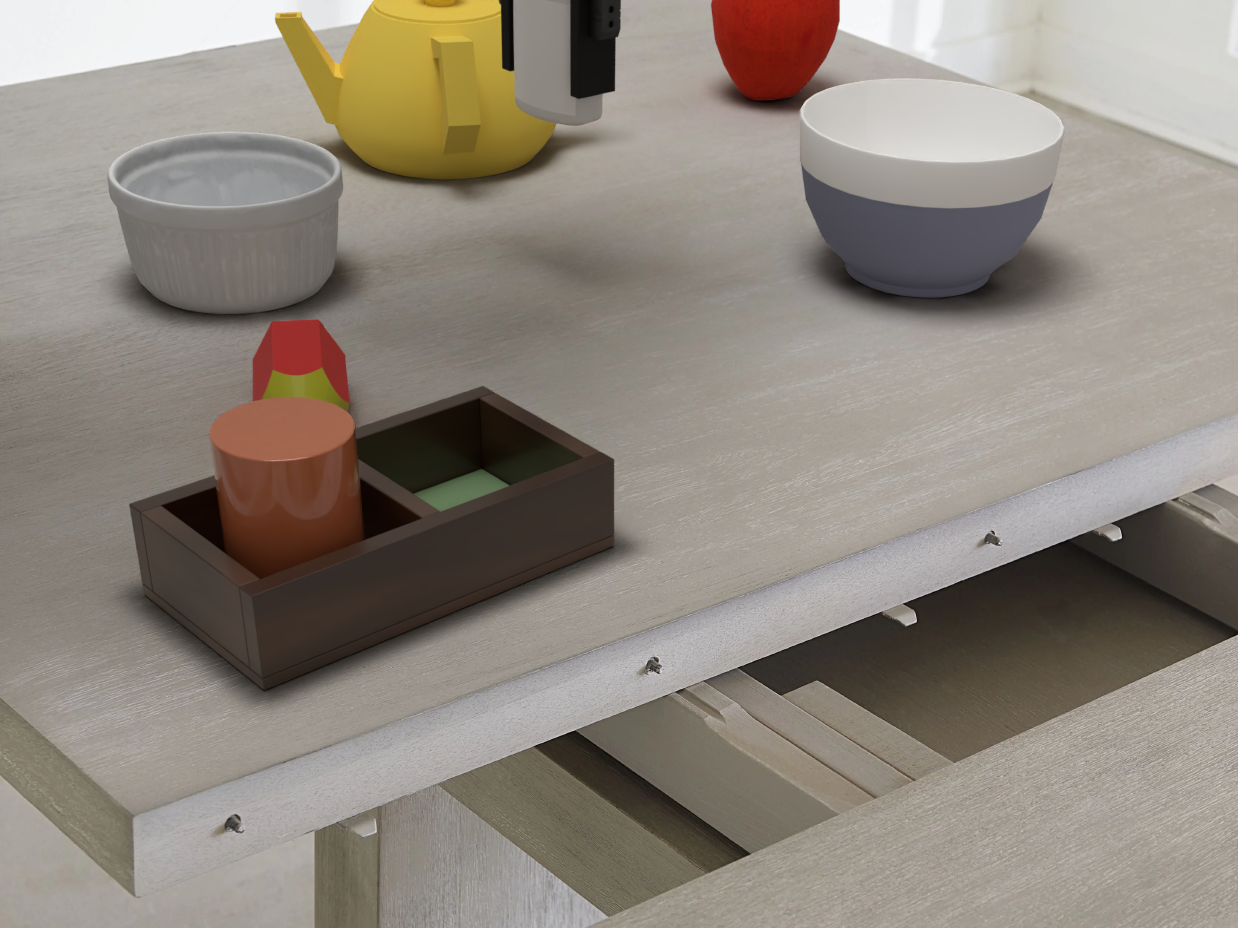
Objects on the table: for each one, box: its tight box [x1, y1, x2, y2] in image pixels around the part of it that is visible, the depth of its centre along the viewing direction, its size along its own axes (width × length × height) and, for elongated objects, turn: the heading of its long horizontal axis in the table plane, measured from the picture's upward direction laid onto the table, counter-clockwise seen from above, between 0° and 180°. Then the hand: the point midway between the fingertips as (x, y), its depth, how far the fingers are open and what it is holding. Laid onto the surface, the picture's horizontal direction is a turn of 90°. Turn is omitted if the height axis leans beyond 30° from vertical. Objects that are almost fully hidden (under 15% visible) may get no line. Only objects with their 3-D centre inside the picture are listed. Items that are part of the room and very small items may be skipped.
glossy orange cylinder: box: [208, 397, 365, 579], centre depth 82 cm, size 6×6×8 cm
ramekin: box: [107, 131, 344, 315], centre depth 112 cm, size 13×13×7 cm
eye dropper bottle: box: [513, 0, 604, 127], centre depth 109 cm, size 4×6×12 cm
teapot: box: [274, 0, 557, 180], centre depth 132 cm, size 17×17×12 cm
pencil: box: [252, 318, 351, 413], centre depth 96 cm, size 5×12×4 cm, turn 12°
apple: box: [710, 0, 841, 102], centre depth 144 cm, size 10×10×12 cm
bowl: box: [799, 77, 1065, 299], centre depth 117 cm, size 16×16×10 cm
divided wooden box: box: [128, 385, 615, 691], centre depth 86 cm, size 10×19×5 cm, turn 133°
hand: (558, 78), depth 112 cm, fingers closed on eye dropper bottle, 6 cm apart
